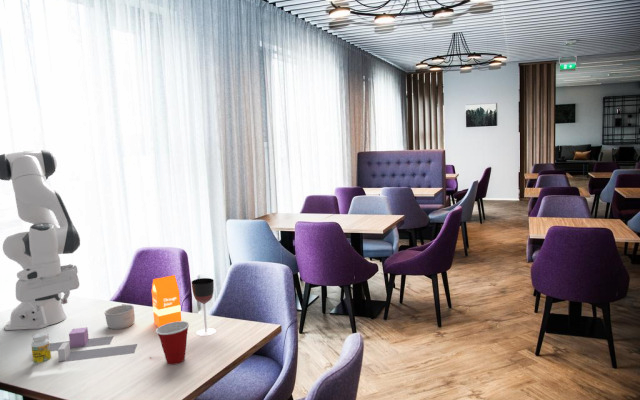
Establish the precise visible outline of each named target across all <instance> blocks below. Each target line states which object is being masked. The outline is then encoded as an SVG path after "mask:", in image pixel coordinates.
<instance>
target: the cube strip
mask: <svg viewBox="0 0 640 400" xmlns="http://www.w3.org/2000/svg"><path fill="white" fill-rule="evenodd" d="M45 334H46V339H48V340H49V333H45ZM113 338H114V335H111V336H102V337H93V338H88V339H89V341H88V342H87V344H86V345H85V346H78V347H70V350H74V349H82V348H90V347H98V346H99V347H100V346H105V345H106V346H107V345H108V346H109V345H111V342H112V341H113ZM49 341H50V340H49ZM66 342H69V344H70V340H69V341H60V342H51V343H50V342H49V343H50V352H56V351H57V352H58V349H59V348H60V346H61V345H62V344H63V343H66Z"/></svg>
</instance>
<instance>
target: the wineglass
mask: <svg viewBox="0 0 640 400" xmlns="http://www.w3.org/2000/svg"><path fill="white" fill-rule="evenodd" d="M214 281H215V280H214V279H213V278H209V277H206V278H205V277H201V278H197V279H194V280H191V290H192V294H193V297H194V299H195V300H196V301H197V302H198V303H200V304H202V307H203V319H204V322H203V323H204V328H202V329H199V330H197V331H196V332H195V333H196V335H197V336H201V337H202V336H204V337H205V336H210V335H211V336H212V335H214V334H215V333H217V330H216V329H215V328H212V327H211V328H210V327H208V325H207V323H208V321H207V312H206V308H207V307H206V304H207V303H209V302H210V301H211V300H212V298H213V295H214V291H215V289H214V287H215V285H214V283H215V282H214Z"/></svg>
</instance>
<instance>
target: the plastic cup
mask: <svg viewBox="0 0 640 400" xmlns="http://www.w3.org/2000/svg"><path fill="white" fill-rule="evenodd" d="M189 326H190V323H189V321H184V320H181V321H177V322H171V323H168V324H165V325H162V326H160V327H157V328H156V329H155V333H156V334H157V336H158V338H159V341H160V344H161V348H162V351H163V354H164V357H165V361H166V363H167V364H169V365H177V364H181V363H183V362H184V361H185V358H186V352H187V341H188V340H187V338H188V330H189Z"/></svg>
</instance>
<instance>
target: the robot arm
mask: <svg viewBox="0 0 640 400" xmlns="http://www.w3.org/2000/svg"><path fill="white" fill-rule="evenodd" d="M57 167H58V166H57V160H56V157H55V155H54V153H53V152H51V151H50V150H29V151H28V150H26V151H25V150H24V151H19V152H13V153H8V154H5V153H3V154H0V180H1V181H10V180H11V182H12V188H13V191H14V192H13V193H14V197H15V203H16V209H17V214H18V217H19V218H20V220H22V221H24V222H25V223H29V224H32V225H31V226H30V227H29V231H23V232H18V233H15V234H12V235H8V236H6V238H5V239H4V241H3V243H2V251H3V253H4V255H5V256H6V257H7V258H8V259H9V260H12V261H13V262H16V263H17V264H18V265H20V266H21V268H22V270H20V271H18V272H17V274H16V278H17V281H16V283H15V298H16V299H15V300H17V301H18V302H21V303H19V304H18V305H17V306H16V307H15V308H14V309H13V310H12V312H11V314H10V318H9V319H10V320H9V321H8V322H6V323H5V325H4V330H5V331H16V330H17V331H18V330H35V329H43V328H46V327H49V326H51V325H52V326H53V325H54V324H57V323H58V324H59V323H60V322H62V321H65V320H66V318H67V315H66V313H65V310H64V308H63V305H66V304H68V299H69V296H70V294H71V292H70V291H74V290H77V289H79V288H80V280H79V276H78V273H79V271H78V267H77V266H76V265H74V264H73V263H72V264H71V263H70V264H65V265H61V258H60V256H59V255H61V254H62V255H65V254H66V255H67V254H69V255H70V254H74V252H76V251H77V250H78V248H80V245H81V238H80V234H79V232H78V231H77V228H76V227H75V225H74V224H73V221H72V219H71V216H70V214H69V212H68V210H67V207H66V205H65V203H64V201H63V199H62V197H61V195H60V194H59V192H58V191H56V190H54V189H52V188H51V187H50V186H49V185H48V183H47V180H49V177H51V176H53V175H54V173H56V169H57ZM50 211H51V212H52V213H53V214H54V216H55V219H56V220H57V221H56V220H55V219H54V217H53V216H52V214H51V212H50ZM62 293H63V294H64V295H63V298H62Z"/></svg>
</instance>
